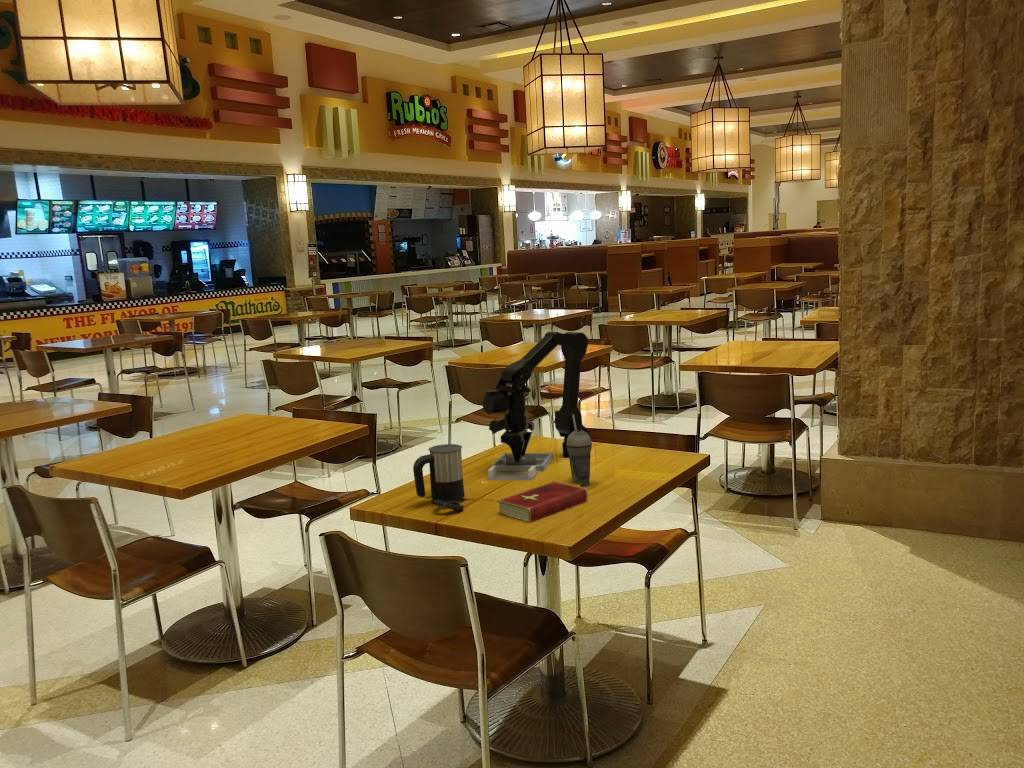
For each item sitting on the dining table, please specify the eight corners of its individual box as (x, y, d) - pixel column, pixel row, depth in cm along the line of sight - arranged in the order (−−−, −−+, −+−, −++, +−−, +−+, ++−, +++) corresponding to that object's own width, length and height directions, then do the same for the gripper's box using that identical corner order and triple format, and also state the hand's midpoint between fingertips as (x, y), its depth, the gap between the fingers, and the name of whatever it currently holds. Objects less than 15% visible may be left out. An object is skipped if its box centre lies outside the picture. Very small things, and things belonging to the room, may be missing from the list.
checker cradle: (538, 475, 244) (538, 464, 244) (532, 483, 237) (532, 472, 236) (493, 475, 248) (492, 464, 247) (485, 483, 240) (484, 471, 240)
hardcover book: (587, 503, 217) (587, 487, 217) (530, 524, 203) (529, 508, 203) (555, 495, 226) (554, 480, 225) (497, 515, 212) (496, 499, 211)
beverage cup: (592, 488, 228) (589, 417, 225) (566, 488, 230) (562, 417, 227) (595, 480, 235) (592, 411, 232) (570, 480, 237) (566, 412, 234)
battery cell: (536, 466, 252) (535, 454, 252) (533, 470, 248) (532, 457, 248) (507, 466, 255) (506, 454, 254) (504, 470, 251) (503, 457, 250)
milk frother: (451, 493, 233) (447, 441, 230) (489, 503, 221) (485, 449, 219) (410, 506, 223) (406, 452, 221) (447, 517, 212) (443, 461, 209)
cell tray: (553, 460, 260) (553, 453, 260) (543, 474, 246) (542, 466, 245) (504, 460, 264) (503, 453, 264) (491, 474, 250) (490, 465, 249)
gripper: (498, 403, 259) (501, 451, 262) (481, 415, 242) (485, 467, 244) (533, 402, 257) (536, 451, 259) (519, 415, 239) (522, 467, 241)
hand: (519, 459), depth 251 cm, fingers open, 6 cm apart
